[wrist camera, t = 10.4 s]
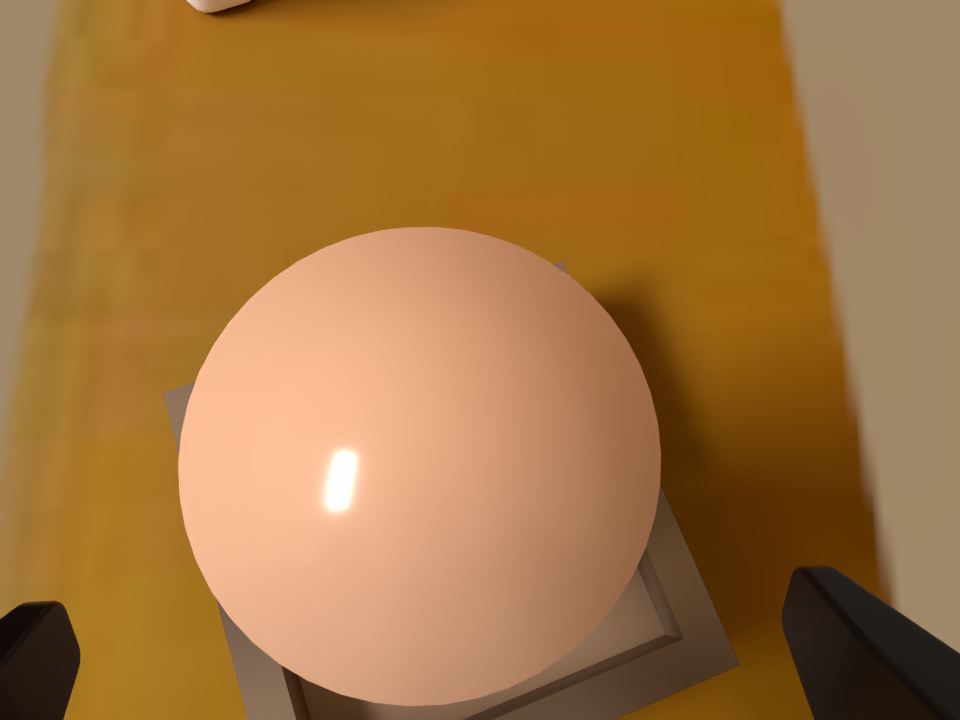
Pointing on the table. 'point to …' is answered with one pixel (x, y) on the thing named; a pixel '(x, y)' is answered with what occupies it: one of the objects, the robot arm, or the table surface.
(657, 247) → the table surface
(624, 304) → the table surface
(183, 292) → the table surface
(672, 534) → the square wooden tray
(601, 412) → the peach tall rounded piece
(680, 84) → the table surface
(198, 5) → the eye dropper bottle
